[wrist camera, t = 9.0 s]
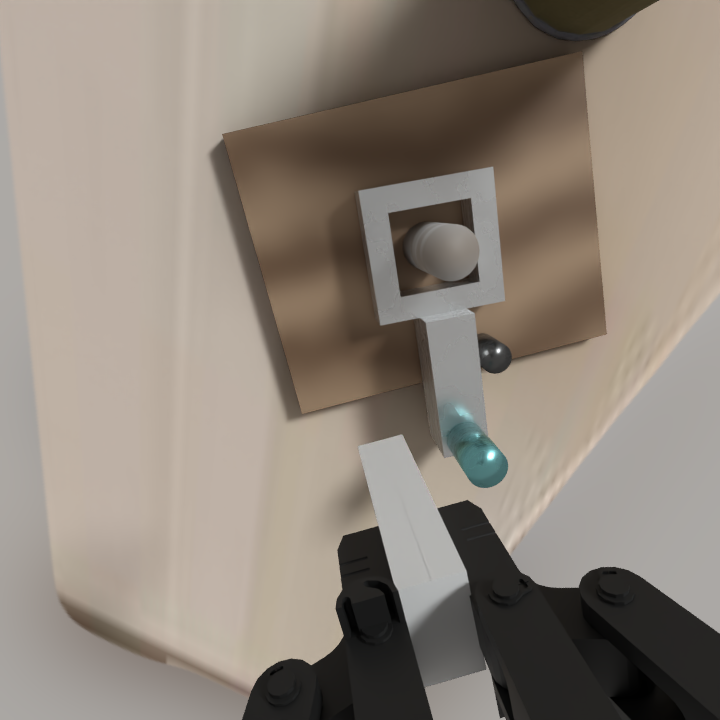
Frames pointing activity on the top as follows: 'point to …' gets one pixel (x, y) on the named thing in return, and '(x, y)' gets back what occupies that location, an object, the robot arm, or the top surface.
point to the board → (424, 221)
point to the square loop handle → (443, 311)
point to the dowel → (493, 354)
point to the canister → (580, 16)
